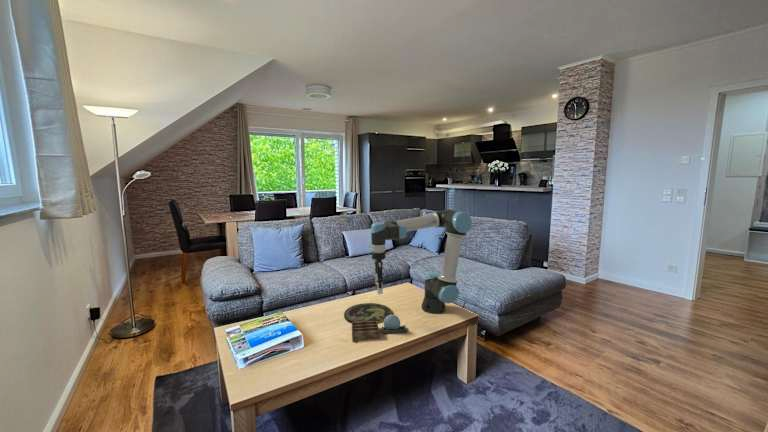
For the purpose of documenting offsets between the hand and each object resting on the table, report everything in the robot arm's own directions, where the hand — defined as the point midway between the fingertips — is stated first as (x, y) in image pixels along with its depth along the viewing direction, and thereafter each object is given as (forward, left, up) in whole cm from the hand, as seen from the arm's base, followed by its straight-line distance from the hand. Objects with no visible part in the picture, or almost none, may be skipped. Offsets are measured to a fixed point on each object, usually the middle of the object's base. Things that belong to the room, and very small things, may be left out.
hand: (379, 289), depth 178 cm
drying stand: (-8, +6, -23) cm, 25 cm away
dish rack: (+8, +7, -23) cm, 25 cm away
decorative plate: (+4, -18, -24) cm, 30 cm away
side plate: (-8, +6, -22) cm, 24 cm away
